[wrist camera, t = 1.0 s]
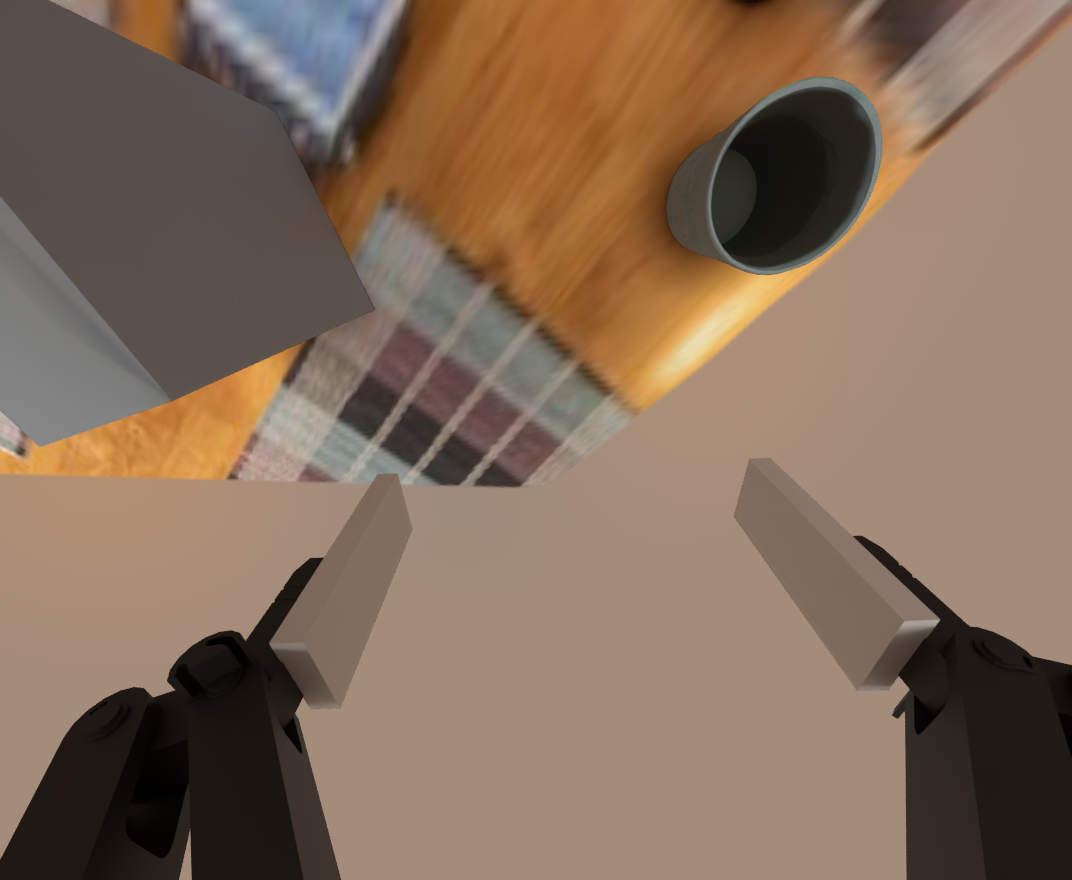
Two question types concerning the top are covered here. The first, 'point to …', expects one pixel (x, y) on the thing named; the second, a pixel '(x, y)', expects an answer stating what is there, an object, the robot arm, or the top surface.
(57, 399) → the socket block
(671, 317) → the top surface
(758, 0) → the camera lens
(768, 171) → the grey green cup
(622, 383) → the top surface
